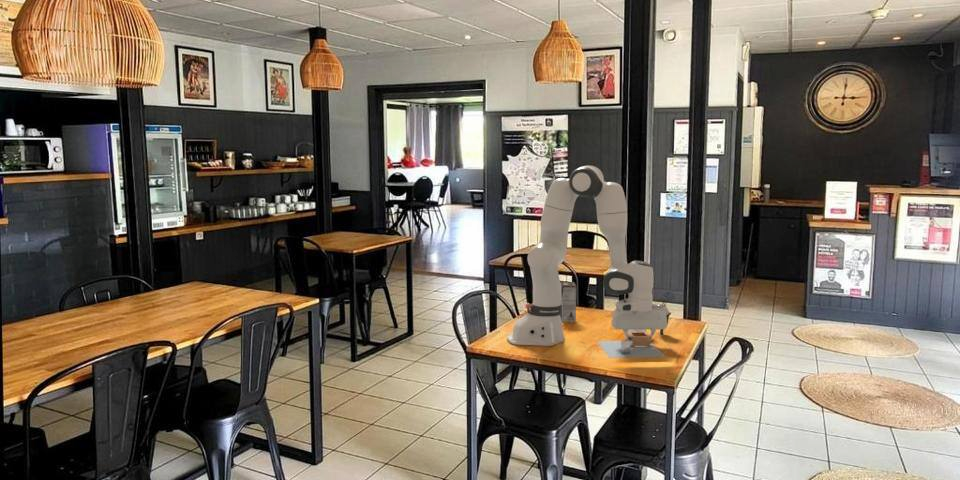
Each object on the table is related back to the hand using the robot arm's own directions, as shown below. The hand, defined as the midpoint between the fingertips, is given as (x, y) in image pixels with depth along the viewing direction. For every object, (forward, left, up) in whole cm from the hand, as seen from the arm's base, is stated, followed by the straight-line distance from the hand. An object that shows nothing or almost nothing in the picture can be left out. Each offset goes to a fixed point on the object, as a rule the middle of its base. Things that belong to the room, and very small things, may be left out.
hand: (638, 340), depth 248 cm
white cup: (+3, +14, -3) cm, 15 cm away
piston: (-8, -10, -2) cm, 13 cm away
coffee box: (-19, +45, -3) cm, 49 cm away
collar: (0, 0, -1) cm, 1 cm away
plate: (-5, -5, -3) cm, 8 cm away
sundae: (+13, +14, -3) cm, 19 cm away
